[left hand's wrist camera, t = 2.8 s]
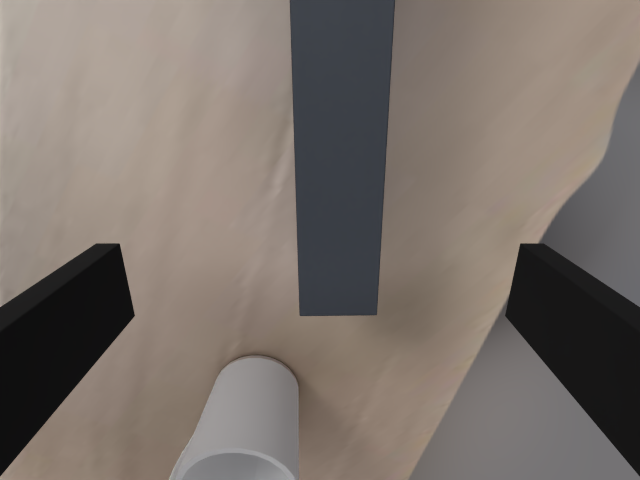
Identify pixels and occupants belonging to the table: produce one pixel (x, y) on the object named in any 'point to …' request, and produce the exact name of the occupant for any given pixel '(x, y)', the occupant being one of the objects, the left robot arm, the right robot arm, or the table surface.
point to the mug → (246, 426)
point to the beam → (340, 149)
